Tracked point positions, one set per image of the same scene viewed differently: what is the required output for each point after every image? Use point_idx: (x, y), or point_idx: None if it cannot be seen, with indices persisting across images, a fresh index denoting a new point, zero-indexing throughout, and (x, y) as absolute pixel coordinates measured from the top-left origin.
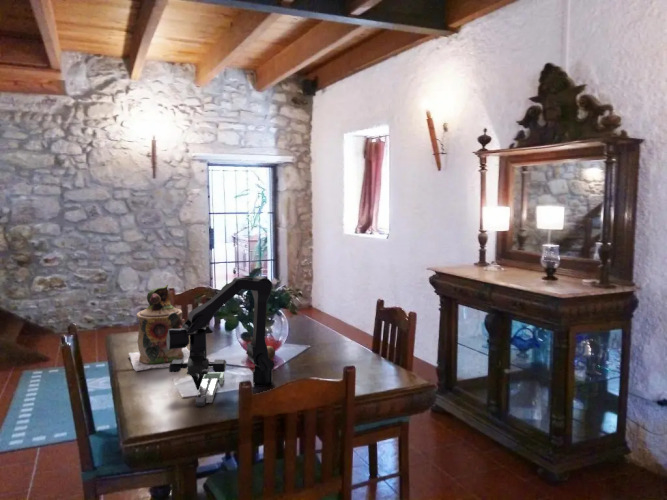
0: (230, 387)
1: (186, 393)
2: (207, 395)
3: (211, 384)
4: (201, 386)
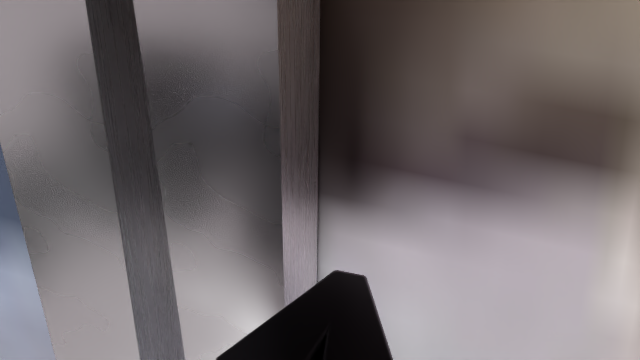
0: (6, 337)
1: (549, 312)
2: None
3: (108, 338)
4: (265, 300)
